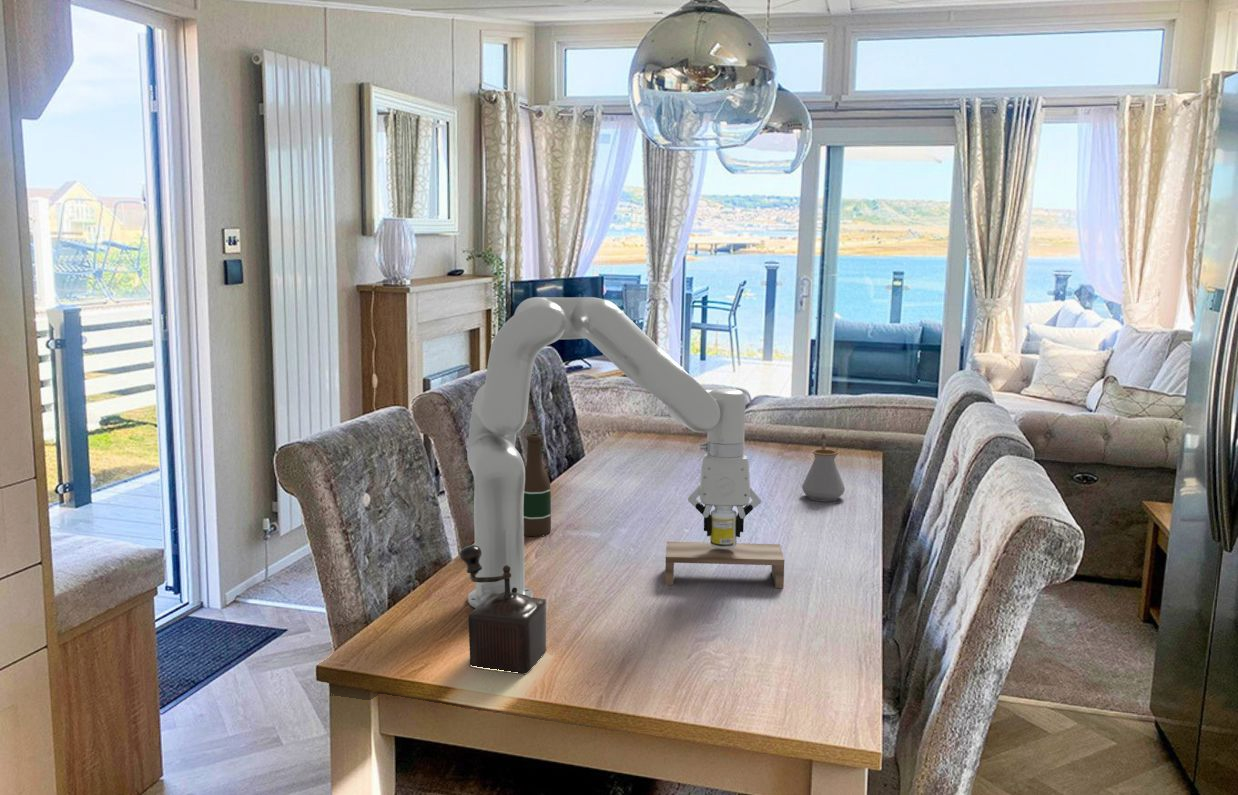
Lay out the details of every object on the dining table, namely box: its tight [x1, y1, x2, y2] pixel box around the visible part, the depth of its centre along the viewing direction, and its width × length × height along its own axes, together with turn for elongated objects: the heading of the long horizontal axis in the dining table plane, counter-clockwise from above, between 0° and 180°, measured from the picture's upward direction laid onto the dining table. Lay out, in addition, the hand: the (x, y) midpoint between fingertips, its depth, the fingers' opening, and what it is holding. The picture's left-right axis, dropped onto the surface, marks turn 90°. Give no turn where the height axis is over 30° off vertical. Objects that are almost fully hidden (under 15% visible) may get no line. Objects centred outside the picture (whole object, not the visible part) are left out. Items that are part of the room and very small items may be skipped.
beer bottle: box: [524, 433, 552, 537], centre depth 232 cm, size 8×8×24 cm
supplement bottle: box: [709, 506, 738, 549], centre depth 202 cm, size 5×5×10 cm
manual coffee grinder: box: [459, 544, 547, 674], centre depth 165 cm, size 16×11×18 cm
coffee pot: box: [801, 432, 846, 502], centre depth 269 cm, size 21×12×15 cm, turn 169°
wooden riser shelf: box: [664, 541, 785, 589], centre depth 203 cm, size 10×24×6 cm, turn 86°
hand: (723, 534), depth 202 cm, fingers closed on supplement bottle, 5 cm apart
